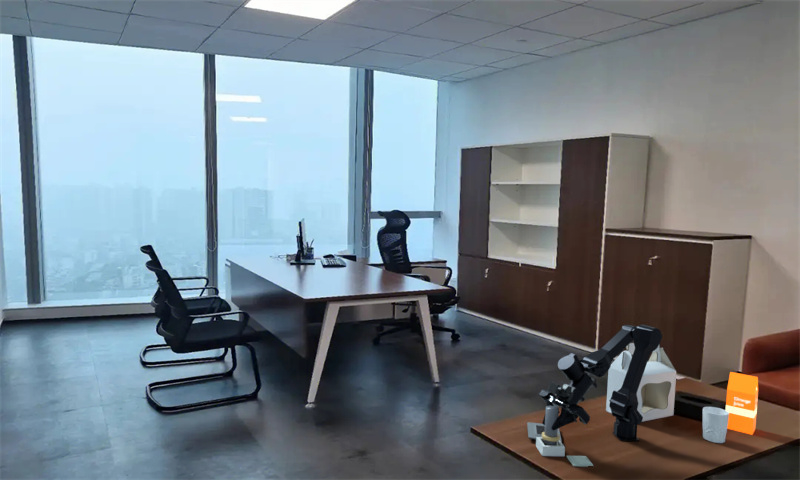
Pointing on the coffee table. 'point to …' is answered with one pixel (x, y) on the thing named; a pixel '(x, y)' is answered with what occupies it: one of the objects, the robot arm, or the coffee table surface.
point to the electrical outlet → (536, 430)
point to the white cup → (715, 424)
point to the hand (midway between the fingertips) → (547, 426)
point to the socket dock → (550, 448)
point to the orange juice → (742, 402)
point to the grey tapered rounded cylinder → (550, 418)
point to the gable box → (647, 383)
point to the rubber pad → (579, 461)
